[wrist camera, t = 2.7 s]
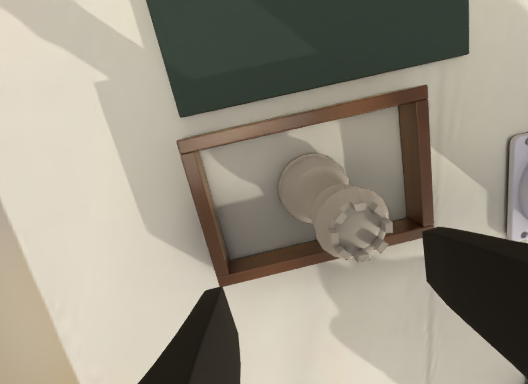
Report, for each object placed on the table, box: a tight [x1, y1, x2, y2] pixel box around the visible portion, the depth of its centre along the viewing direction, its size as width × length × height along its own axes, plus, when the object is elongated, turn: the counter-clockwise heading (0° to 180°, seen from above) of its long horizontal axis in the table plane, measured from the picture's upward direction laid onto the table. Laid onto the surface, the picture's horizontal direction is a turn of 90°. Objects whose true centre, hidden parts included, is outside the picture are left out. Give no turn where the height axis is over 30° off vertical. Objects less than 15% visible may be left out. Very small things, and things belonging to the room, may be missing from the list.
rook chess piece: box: [278, 153, 393, 262], centre depth 15 cm, size 4×4×8 cm
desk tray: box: [177, 85, 434, 287], centre depth 18 cm, size 15×10×2 cm, turn 102°
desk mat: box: [146, 0, 469, 117], centre depth 16 cm, size 18×7×1 cm, turn 102°
